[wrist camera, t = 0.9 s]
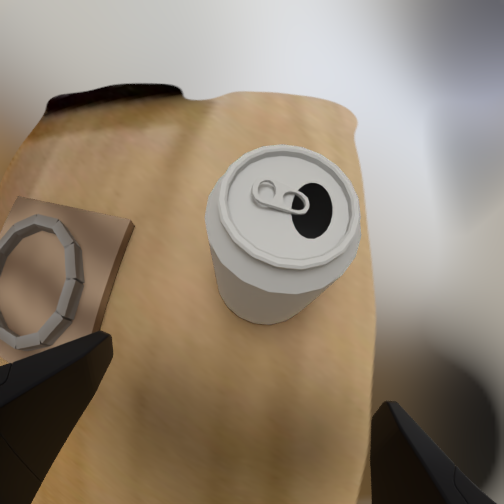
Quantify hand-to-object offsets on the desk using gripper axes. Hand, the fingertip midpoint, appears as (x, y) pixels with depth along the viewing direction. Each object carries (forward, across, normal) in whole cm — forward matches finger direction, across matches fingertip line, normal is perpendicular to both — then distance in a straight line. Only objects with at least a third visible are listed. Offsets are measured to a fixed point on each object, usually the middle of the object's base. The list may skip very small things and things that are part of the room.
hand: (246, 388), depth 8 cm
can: (+15, 0, +3) cm, 15 cm away
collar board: (+10, +20, +8) cm, 24 cm away
